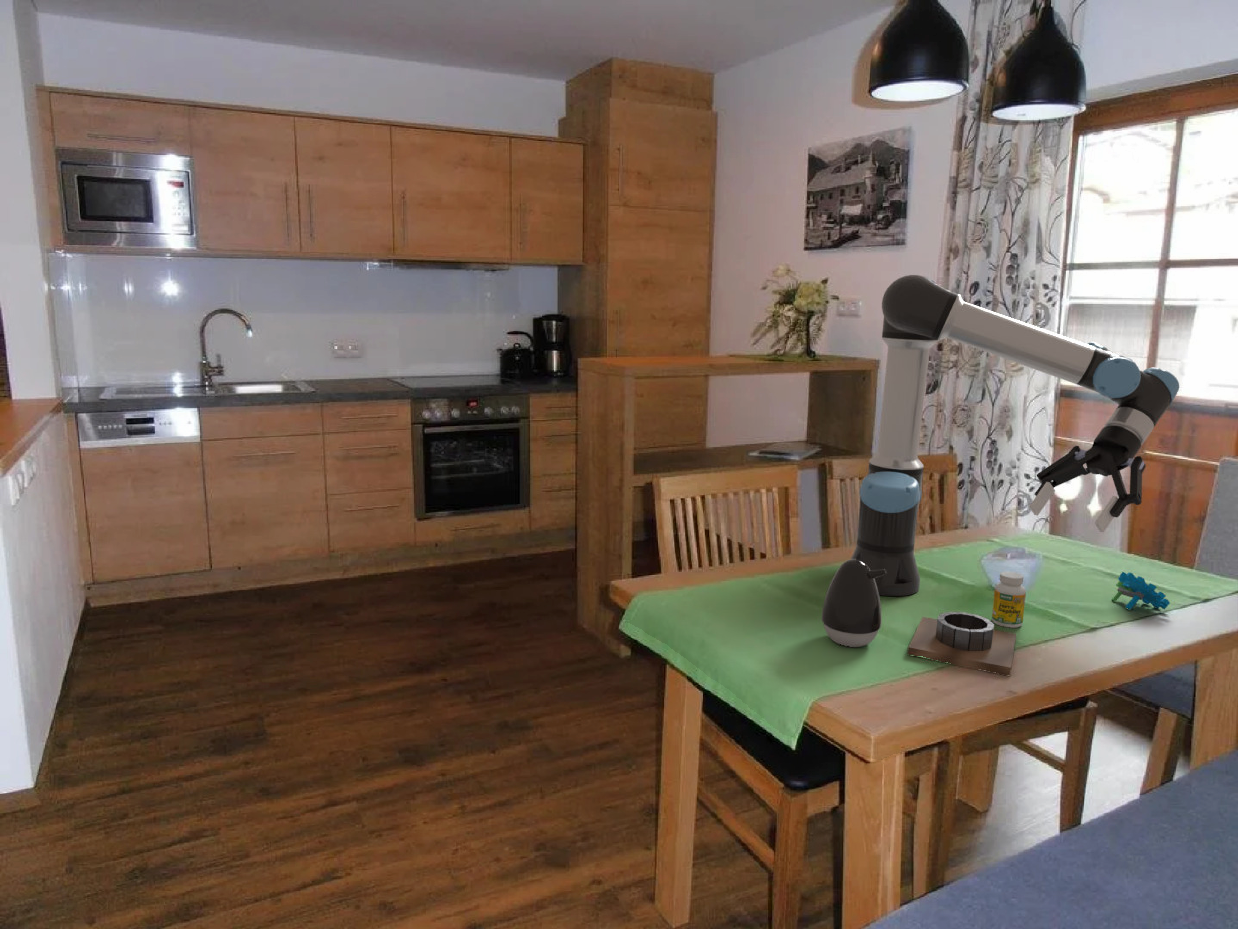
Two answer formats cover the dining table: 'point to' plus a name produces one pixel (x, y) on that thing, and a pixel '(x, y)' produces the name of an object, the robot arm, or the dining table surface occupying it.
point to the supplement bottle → (1009, 600)
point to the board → (987, 660)
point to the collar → (964, 631)
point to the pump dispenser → (853, 604)
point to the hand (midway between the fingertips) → (1064, 519)
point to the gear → (1139, 591)
